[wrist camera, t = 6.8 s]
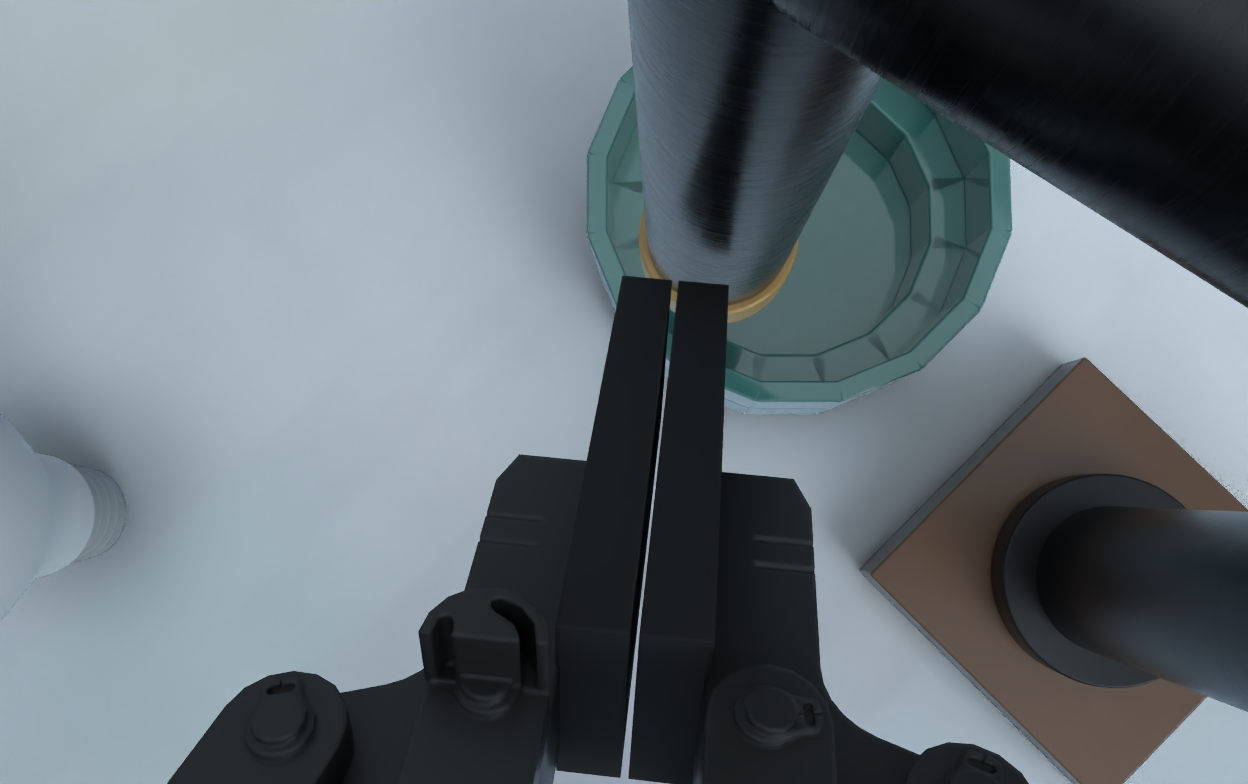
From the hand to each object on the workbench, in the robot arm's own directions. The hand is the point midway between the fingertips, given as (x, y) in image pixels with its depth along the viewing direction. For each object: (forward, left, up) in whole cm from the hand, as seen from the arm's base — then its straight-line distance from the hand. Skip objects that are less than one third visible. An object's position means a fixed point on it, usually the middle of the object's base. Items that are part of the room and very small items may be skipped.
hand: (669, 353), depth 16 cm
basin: (-1, +6, -12) cm, 13 cm away
